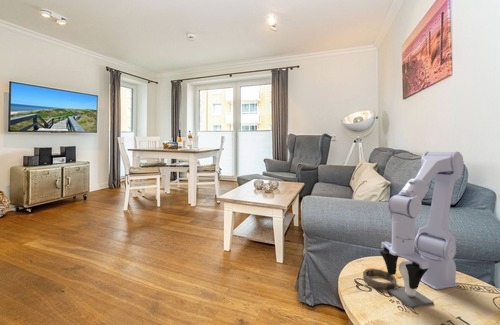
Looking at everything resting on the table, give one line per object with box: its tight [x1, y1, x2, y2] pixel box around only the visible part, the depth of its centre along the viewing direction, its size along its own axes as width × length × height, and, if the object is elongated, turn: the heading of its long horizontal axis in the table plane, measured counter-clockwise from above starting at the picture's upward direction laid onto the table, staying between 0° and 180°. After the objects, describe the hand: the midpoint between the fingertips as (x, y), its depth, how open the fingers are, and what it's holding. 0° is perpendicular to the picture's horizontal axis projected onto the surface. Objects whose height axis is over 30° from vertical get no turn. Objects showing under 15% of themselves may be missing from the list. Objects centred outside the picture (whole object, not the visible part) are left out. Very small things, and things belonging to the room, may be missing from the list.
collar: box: [362, 268, 397, 291], centre depth 79 cm, size 10×10×2 cm
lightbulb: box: [398, 259, 423, 297], centre depth 70 cm, size 6×6×11 cm
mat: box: [387, 286, 434, 309], centre depth 71 cm, size 8×8×1 cm
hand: (402, 280), depth 70 cm, fingers open, 7 cm apart
